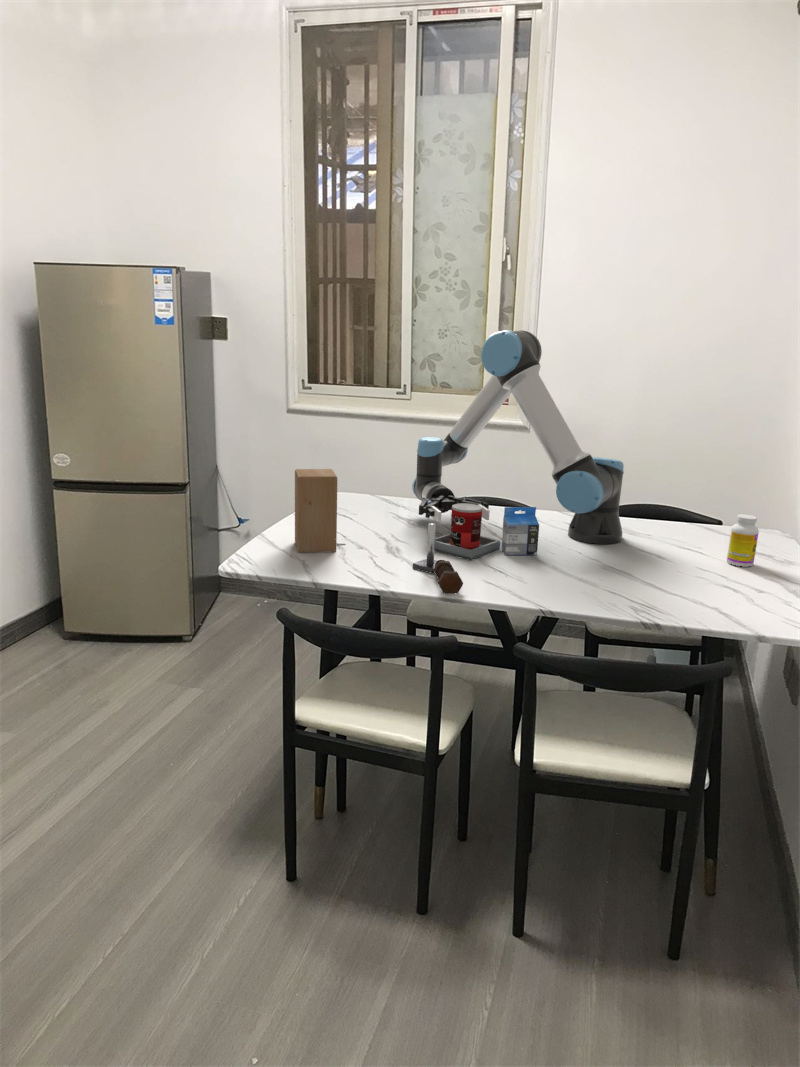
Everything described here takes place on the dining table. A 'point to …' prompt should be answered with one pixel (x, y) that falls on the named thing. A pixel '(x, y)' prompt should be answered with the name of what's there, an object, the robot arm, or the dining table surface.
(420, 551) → the dining table surface
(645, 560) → the dining table surface
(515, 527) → the label tape box
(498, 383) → the robot arm
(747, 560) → the supplement bottle
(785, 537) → the dining table surface
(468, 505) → the canned food
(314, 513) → the wooden block
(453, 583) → the brown hex dumbbell
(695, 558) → the dining table surface
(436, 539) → the tray
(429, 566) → the stand
